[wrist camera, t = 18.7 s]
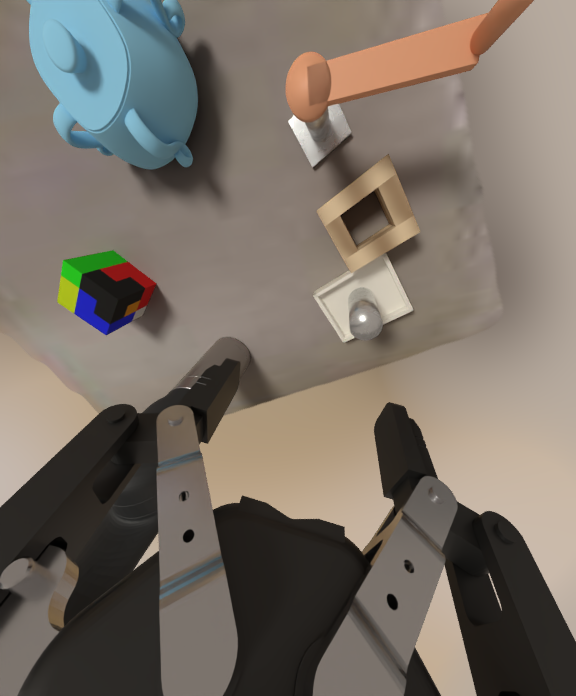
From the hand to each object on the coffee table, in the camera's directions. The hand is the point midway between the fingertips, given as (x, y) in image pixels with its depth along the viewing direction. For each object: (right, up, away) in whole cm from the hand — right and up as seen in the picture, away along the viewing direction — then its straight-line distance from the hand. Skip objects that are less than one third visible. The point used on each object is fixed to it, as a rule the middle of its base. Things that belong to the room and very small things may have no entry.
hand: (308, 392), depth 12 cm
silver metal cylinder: (+12, +11, +29) cm, 33 cm away
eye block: (+11, +22, +23) cm, 33 cm away
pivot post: (+3, +32, +18) cm, 37 cm away
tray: (+12, +11, +29) cm, 34 cm away
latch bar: (+7, +26, +7) cm, 28 cm away
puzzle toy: (-36, +16, +38) cm, 54 cm away
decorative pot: (-20, +38, +21) cm, 47 cm away
